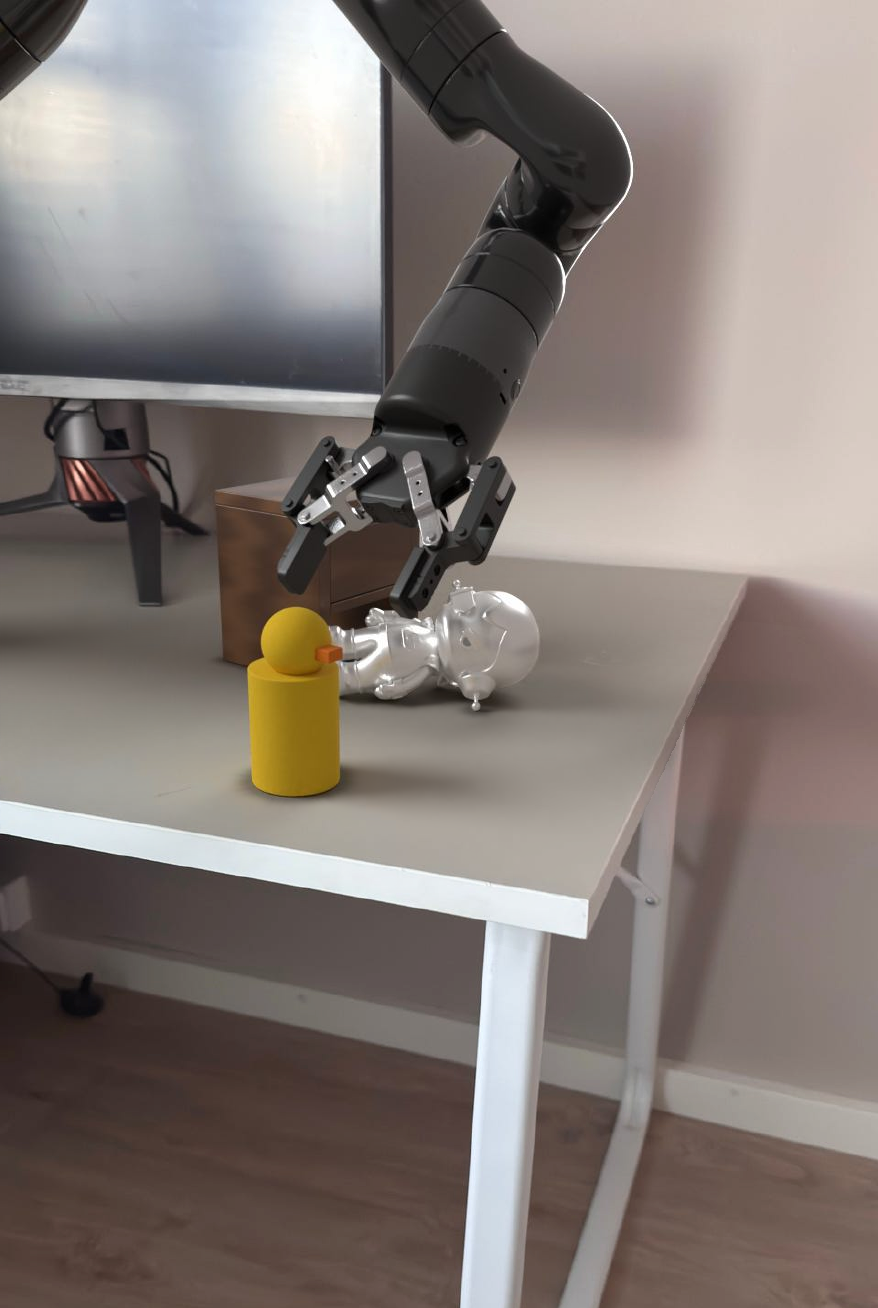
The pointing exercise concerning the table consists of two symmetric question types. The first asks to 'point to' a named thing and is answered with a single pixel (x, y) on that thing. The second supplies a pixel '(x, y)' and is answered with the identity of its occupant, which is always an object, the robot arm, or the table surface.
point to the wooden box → (336, 592)
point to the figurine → (442, 647)
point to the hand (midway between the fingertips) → (342, 599)
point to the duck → (295, 706)
